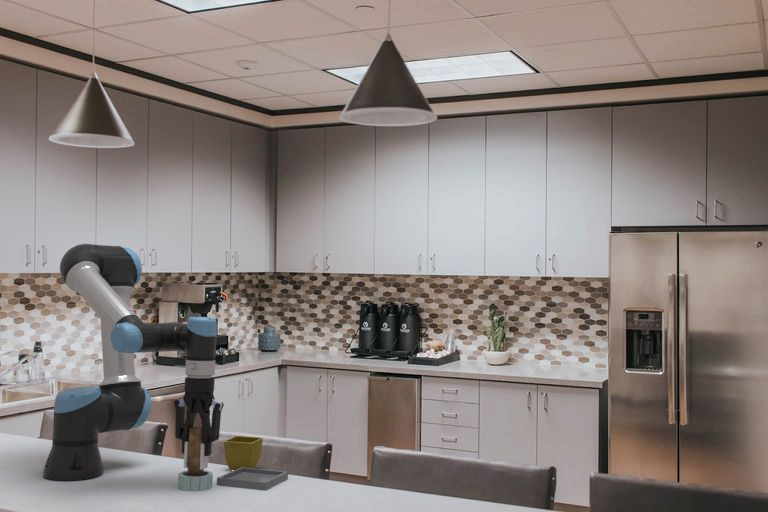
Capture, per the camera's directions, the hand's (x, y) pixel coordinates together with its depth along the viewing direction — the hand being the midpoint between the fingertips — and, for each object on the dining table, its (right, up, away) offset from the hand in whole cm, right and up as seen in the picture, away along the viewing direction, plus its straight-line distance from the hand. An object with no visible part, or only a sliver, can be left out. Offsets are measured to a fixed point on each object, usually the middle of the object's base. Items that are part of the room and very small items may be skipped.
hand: (195, 467), depth 199 cm
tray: (+14, -6, +7) cm, 17 cm away
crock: (0, -6, 0) cm, 6 cm away
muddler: (0, -5, 0) cm, 5 cm away
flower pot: (+8, -7, +23) cm, 25 cm away
